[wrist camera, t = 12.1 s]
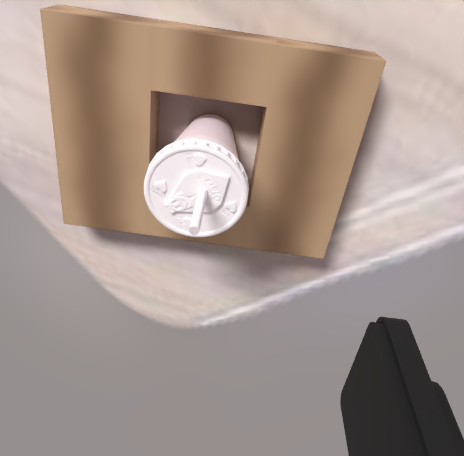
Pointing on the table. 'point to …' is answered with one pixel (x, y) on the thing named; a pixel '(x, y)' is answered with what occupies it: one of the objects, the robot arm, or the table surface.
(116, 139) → the socket board
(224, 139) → the smoothie
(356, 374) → the robot arm
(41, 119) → the table surface
